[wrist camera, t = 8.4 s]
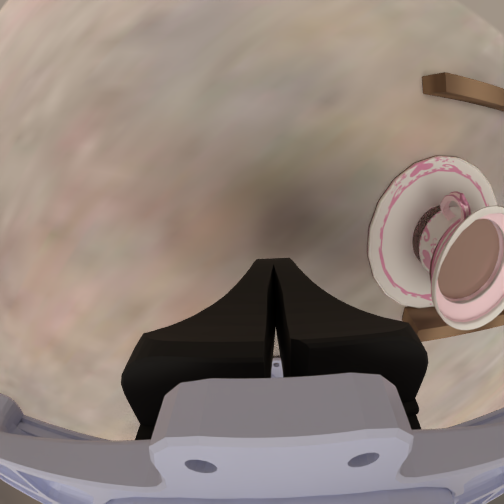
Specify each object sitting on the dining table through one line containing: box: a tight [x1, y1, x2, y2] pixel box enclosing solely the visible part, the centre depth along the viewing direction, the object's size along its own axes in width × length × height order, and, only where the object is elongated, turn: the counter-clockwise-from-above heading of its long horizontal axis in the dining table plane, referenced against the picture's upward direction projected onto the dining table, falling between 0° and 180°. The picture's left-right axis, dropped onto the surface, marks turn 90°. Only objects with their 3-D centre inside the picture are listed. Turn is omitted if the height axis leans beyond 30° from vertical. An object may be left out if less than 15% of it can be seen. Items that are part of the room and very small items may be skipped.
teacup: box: [367, 156, 504, 330], centre depth 17 cm, size 12×12×6 cm
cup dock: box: [402, 72, 504, 342], centre depth 16 cm, size 12×18×5 cm, turn 4°
